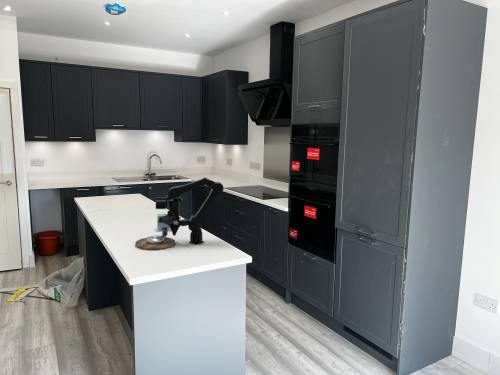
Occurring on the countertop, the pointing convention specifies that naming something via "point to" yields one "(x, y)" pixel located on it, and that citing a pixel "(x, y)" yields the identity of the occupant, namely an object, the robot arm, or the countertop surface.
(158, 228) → the light bulb box
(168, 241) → the dial base plate
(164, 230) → the dial
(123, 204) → the countertop surface
